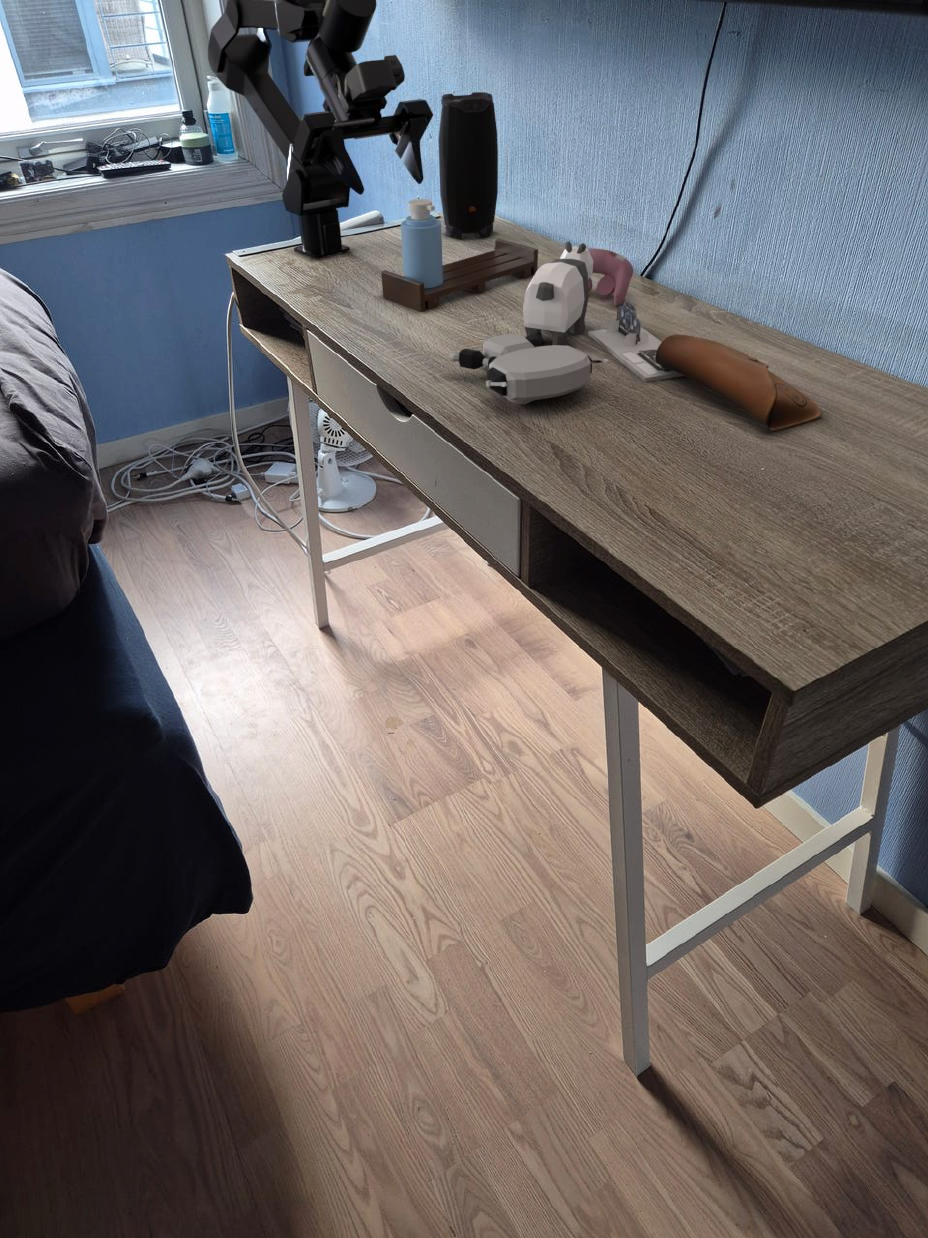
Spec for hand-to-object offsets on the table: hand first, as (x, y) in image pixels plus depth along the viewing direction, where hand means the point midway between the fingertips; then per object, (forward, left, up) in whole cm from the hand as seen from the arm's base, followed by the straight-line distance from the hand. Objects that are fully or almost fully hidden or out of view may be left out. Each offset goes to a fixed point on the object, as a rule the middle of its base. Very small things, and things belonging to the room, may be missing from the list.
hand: (392, 186), depth 114 cm
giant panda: (+28, +2, -13) cm, 31 cm away
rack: (+6, +6, -13) cm, 16 cm away
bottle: (+6, -1, -11) cm, 12 cm away
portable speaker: (-13, +25, -13) cm, 31 cm away
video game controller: (+22, +15, -13) cm, 30 cm away
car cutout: (+39, +4, -13) cm, 42 cm away
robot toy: (+36, -12, -13) cm, 40 cm away
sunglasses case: (+53, +2, -13) cm, 55 cm away
